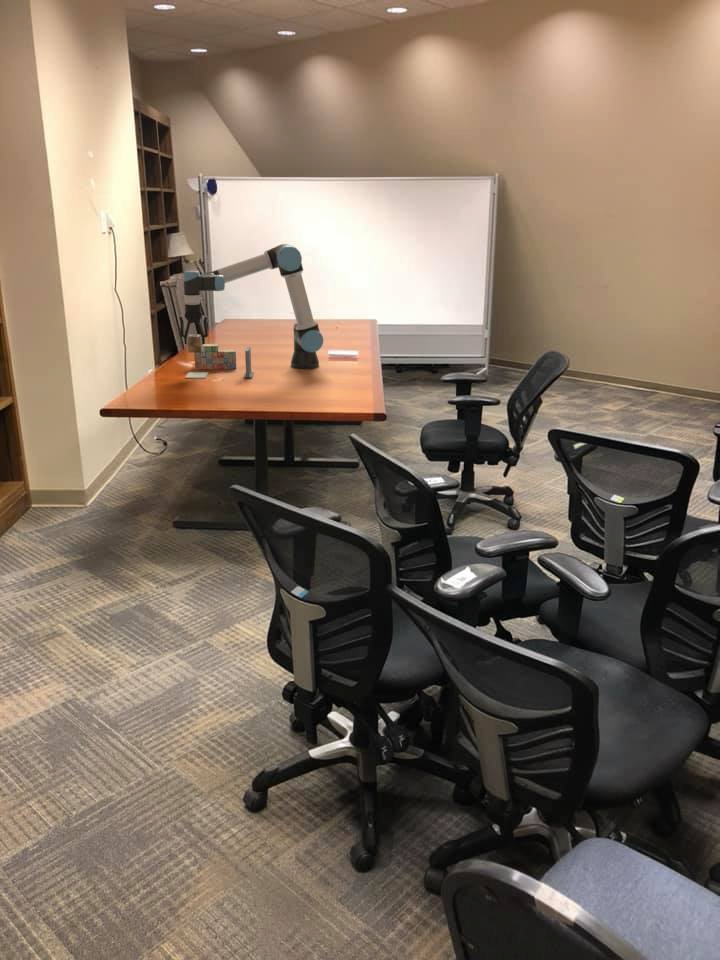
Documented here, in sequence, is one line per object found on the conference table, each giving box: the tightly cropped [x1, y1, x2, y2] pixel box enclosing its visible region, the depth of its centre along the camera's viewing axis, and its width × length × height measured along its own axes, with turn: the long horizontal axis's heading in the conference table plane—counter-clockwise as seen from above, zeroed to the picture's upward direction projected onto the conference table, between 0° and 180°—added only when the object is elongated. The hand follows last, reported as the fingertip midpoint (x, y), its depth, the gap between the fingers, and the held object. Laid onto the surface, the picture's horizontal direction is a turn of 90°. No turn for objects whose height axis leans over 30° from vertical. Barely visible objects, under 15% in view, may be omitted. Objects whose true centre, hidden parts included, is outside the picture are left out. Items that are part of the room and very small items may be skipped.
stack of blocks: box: [193, 343, 237, 370], centre depth 401 cm, size 21×6×12 cm, turn 96°
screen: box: [243, 345, 255, 380], centre depth 383 cm, size 4×12×14 cm, turn 3°
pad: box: [184, 371, 209, 380], centre depth 384 cm, size 10×12×1 cm
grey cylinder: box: [187, 334, 201, 354], centre depth 379 cm, size 6×6×8 cm
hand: (195, 350), depth 380 cm, fingers closed on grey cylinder, 6 cm apart
